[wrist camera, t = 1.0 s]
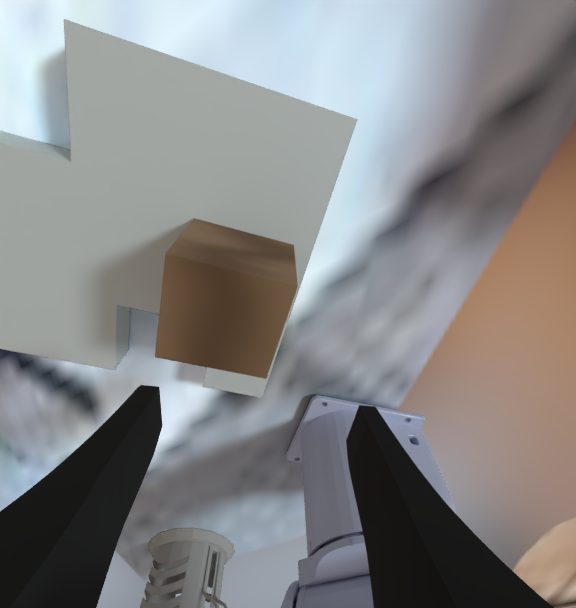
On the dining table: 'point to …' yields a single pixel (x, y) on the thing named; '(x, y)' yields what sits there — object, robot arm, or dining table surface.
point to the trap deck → (149, 193)
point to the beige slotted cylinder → (186, 568)
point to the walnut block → (225, 298)
